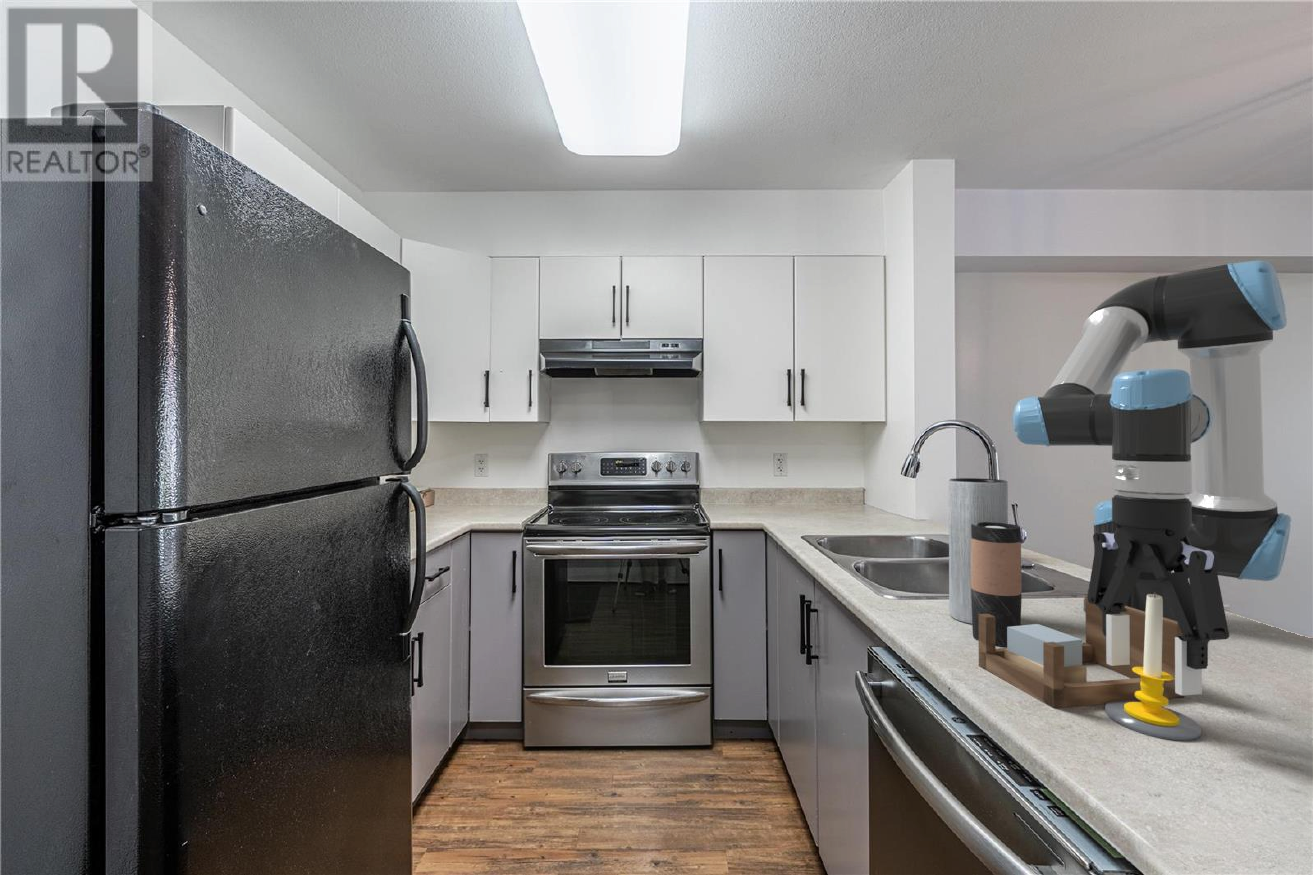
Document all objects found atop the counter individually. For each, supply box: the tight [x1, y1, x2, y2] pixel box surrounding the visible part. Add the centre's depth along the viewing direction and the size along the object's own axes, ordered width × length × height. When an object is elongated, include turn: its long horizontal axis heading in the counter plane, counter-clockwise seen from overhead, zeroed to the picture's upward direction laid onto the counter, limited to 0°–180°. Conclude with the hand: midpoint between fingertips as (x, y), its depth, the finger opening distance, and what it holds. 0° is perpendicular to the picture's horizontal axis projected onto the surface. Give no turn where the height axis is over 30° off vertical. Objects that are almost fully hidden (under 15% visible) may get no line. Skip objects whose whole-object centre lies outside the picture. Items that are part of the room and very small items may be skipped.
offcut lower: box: [1004, 647, 1088, 684], centre depth 83 cm, size 6×8×4 cm
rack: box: [978, 595, 1186, 709], centre depth 83 cm, size 20×14×10 cm
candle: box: [1124, 592, 1179, 727], centre depth 71 cm, size 5×5×16 cm
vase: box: [948, 477, 1009, 625], centre depth 112 cm, size 10×10×27 cm
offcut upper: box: [1006, 623, 1083, 667], centre depth 83 cm, size 6×7×4 cm
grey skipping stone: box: [1104, 700, 1202, 742], centre depth 71 cm, size 9×9×1 cm
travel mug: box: [971, 522, 1023, 648], centre depth 100 cm, size 8×8×20 cm
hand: (1151, 677), depth 71 cm, fingers open, 8 cm apart
